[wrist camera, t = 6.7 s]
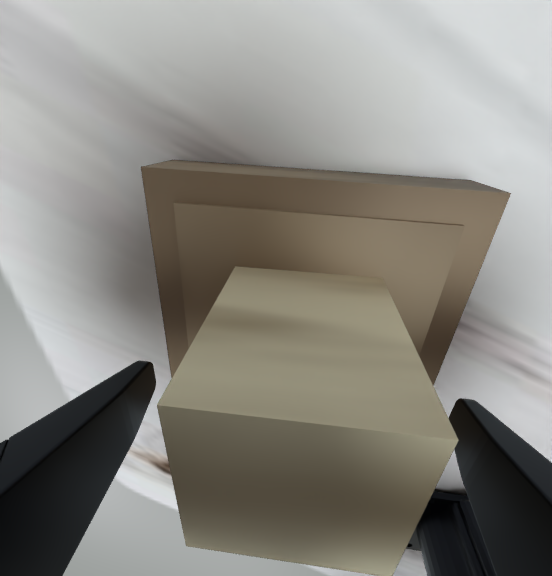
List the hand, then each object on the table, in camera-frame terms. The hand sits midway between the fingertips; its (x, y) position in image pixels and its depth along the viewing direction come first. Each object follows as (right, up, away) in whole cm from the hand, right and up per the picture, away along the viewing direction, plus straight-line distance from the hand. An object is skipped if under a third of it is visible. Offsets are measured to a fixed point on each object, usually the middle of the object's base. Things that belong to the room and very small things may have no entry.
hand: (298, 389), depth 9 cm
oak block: (0, +1, +3) cm, 3 cm away
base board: (+1, +3, +5) cm, 6 cm away
